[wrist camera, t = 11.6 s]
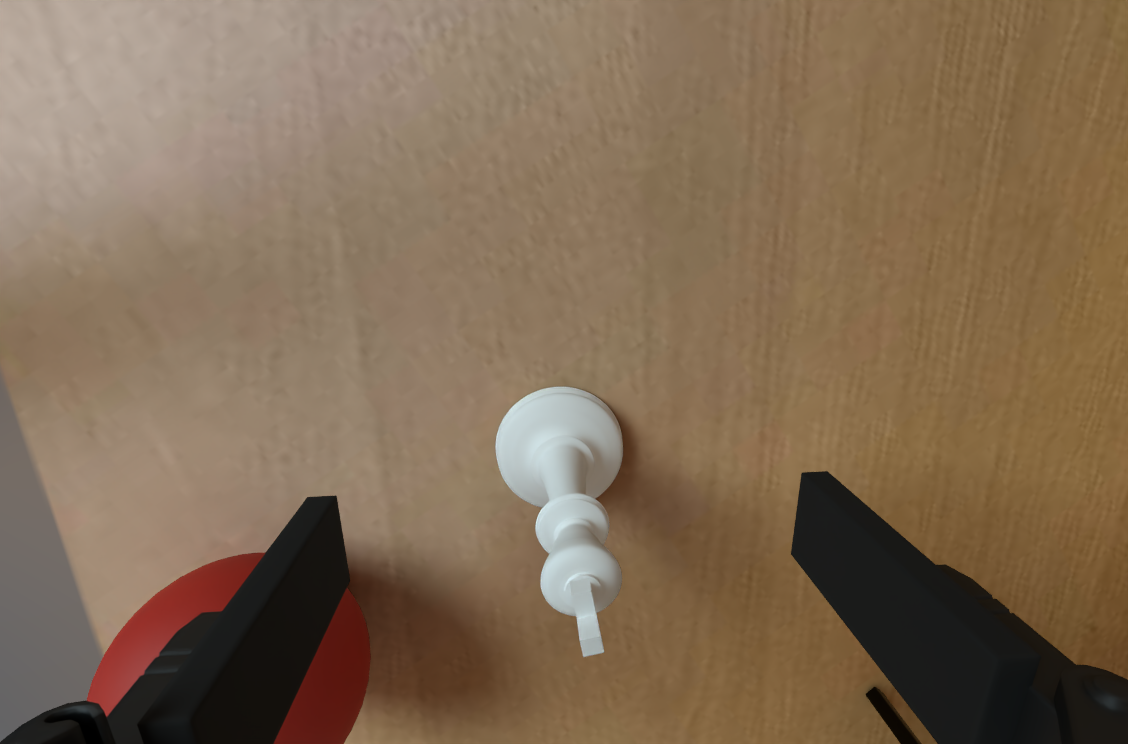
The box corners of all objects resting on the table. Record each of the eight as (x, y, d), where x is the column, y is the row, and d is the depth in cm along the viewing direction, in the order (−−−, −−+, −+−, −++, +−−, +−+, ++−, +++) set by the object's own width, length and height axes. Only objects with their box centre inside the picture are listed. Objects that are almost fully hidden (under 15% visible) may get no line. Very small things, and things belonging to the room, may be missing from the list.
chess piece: (611, 374, 20) (693, 520, 10) (630, 488, 21) (719, 710, 12) (482, 401, 20) (445, 573, 10) (511, 513, 21) (501, 758, 12)
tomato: (168, 515, 20) (-103, 743, 11) (382, 503, 21) (280, 713, 12) (211, 681, 22) (13, 977, 14) (403, 667, 23) (330, 943, 14)
